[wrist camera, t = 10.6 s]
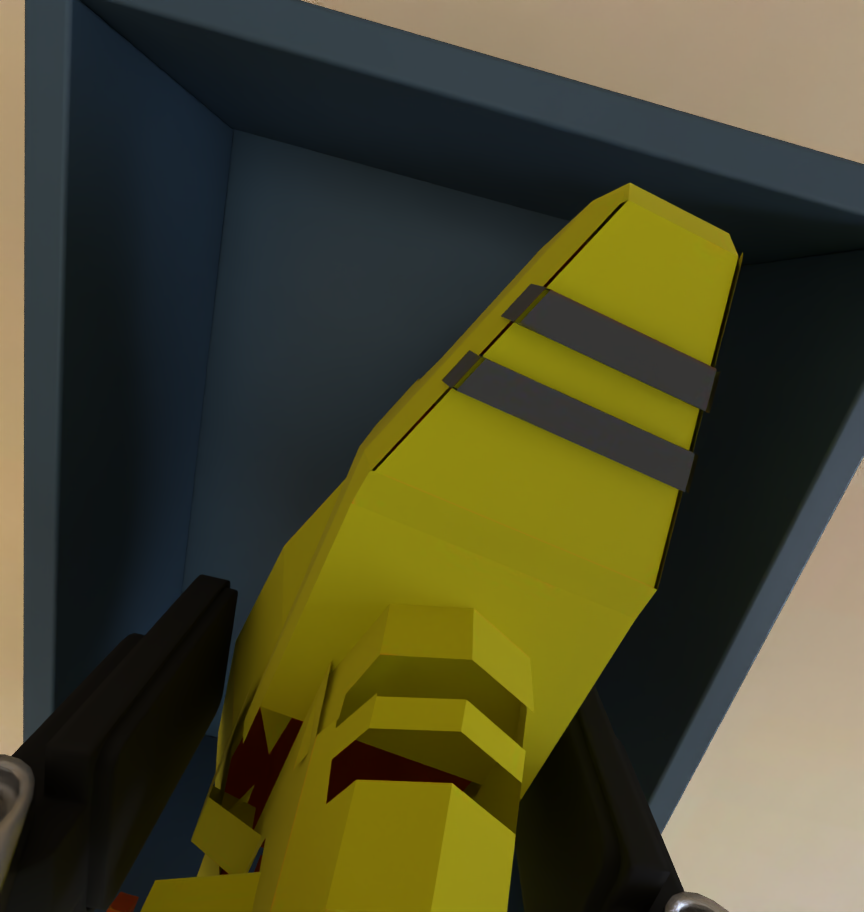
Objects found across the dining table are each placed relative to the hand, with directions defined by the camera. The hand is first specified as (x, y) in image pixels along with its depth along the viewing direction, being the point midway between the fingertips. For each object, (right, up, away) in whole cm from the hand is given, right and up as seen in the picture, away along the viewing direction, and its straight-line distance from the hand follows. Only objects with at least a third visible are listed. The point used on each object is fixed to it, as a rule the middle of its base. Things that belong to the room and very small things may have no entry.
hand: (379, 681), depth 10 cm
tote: (0, +2, +7) cm, 7 cm away
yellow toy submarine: (0, +1, +2) cm, 2 cm away
